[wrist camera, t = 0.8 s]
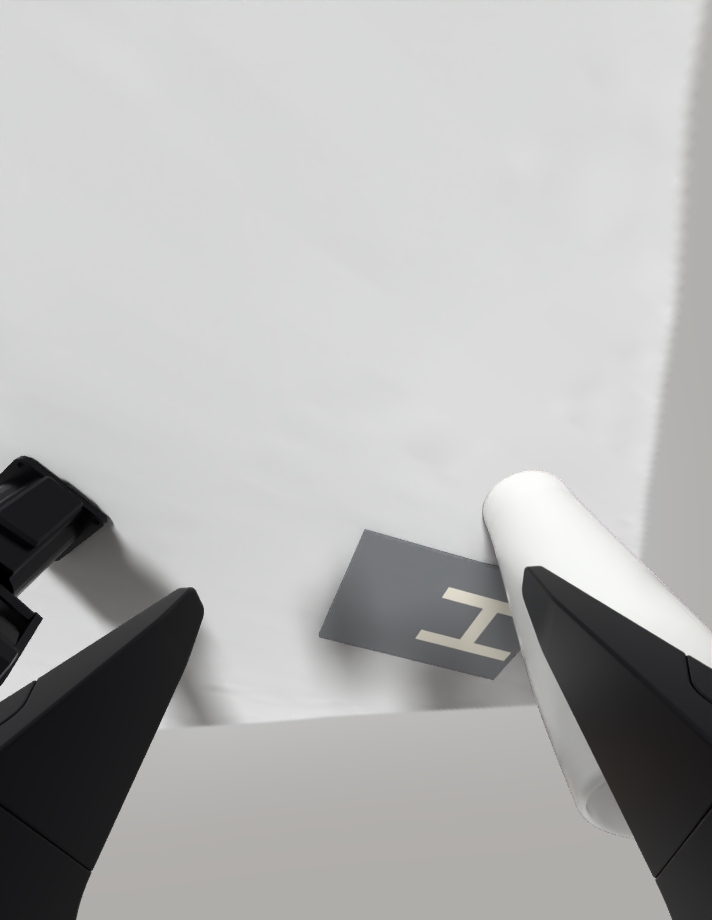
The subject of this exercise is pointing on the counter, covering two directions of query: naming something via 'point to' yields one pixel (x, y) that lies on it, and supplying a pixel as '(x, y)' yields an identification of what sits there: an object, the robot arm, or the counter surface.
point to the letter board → (424, 607)
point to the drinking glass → (598, 574)
